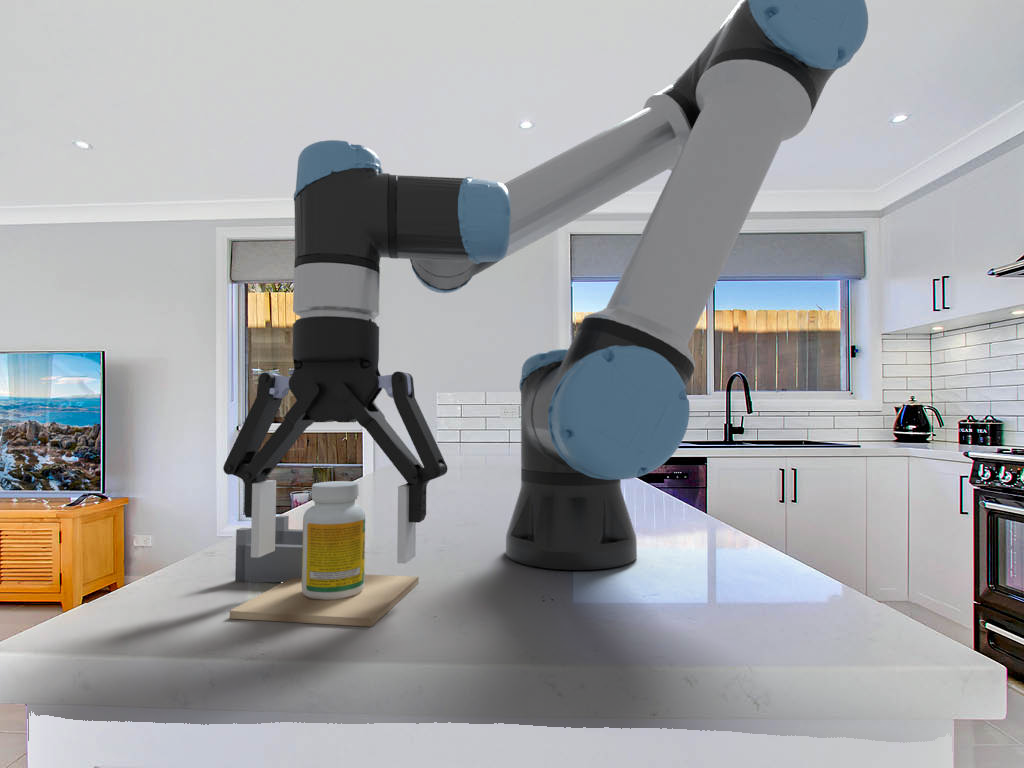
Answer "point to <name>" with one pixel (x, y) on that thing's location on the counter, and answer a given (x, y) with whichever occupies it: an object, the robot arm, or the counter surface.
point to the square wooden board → (327, 603)
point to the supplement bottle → (333, 542)
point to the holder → (270, 555)
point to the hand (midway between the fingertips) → (333, 557)
